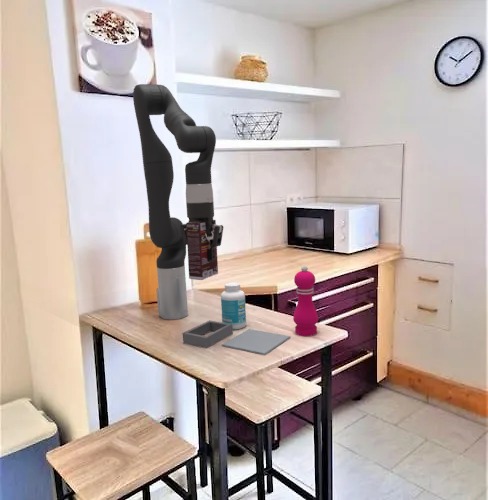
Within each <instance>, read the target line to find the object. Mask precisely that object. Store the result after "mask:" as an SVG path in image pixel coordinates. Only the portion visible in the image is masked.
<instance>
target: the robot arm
mask: <svg viewBox="0 0 488 500" xmlns="http://www.w3.org/2000/svg"><path fill="white" fill-rule="evenodd" d="M132 94H133V95H132V97H133V98H132V99H133V106H134V112H135V116H136V117H135V118H136V122H137V127H138V131H139V132H138V133H139V137H140V147H141V153H142V154H141V155H142V164H143V165H142V166H143V174H144V180H145V185H146V186H145V187H146V195H147V206H148V232H149V238H150V240H151V242H152V244H154V246H156V247H157V248H159V249H161V250H160V253H159V255H158V257H157V258H156V260H155V261H156V262H155V263H156V275H157V286H158V288H157V289H156V300H157V303H156V304H157V312H158V314H157V315H158V317H160V318H161V319H164V320H180V319H182V318H186V317H188V315H189V310H188V309H189V308H188V307H189V306H188V295H187V294H188V292H187V280H186V279H187V278H186V265H185V264H186V263H185V260H186V257H187V256H186V255H187V227H186V223H183V222H182V220H181V219H179V218H177V217H173V216H172V217H171V213H170V197H171V193H172V189H173V188H172V187H173V185H174V180H175V179H174V176H175V175H174V166H173V165H174V164H173V158H172V155H171V152H170V151H169V149H168V148H167V147H166V145H165V143H164V142H163V141H162V140H161V139H160V138H159V135H157V133H156V130H155V129H154V127H153V124H152V121H151V117H150V116H161V115H163V123H164V126H165V127H166V129H167V131H169V133H171V135H173V137H174V139H175V142H176V145H177V148H178V149H179V151H181V152H183V153H186V154H187V153H188V154H193V153H194V154H198V153H199V156H198V158H197V159H196V160H194V161H191V162H188V163H186V164H185V167H184V168H185V169H184V172H185V184H186V185H185V205H186V217H187V218H188V222H193V221H199V222H205V224H206V233H205V241H206V243H207V248H208V249H207V259H208V262H213V261H214V259H215V247H217V248H218V247H220V246H221V245H222V239H223V233H224V225H223V224H220V225H218V224H217V223H216V224H215V223H214V221H213V220H214V218H215V217H214V216H215V204H214V203H215V202H214V190H213V185H212V183H213V182H212V164H213V158H214V153H215V150H216V143H217V138H216V137H217V136H216V133H215V131H214V130H213V128H211V127H210V126H207V125H197V124H196V122H195V120H194V119H193V118H192V117H191V116H190V115H189V114H188V113H186V112H185V111H184V110H183V109H182V107H181V106H180V105H179V102H177V100H176V98H175V97H174V95H173V93H172V92H171V91H170V89H169V88H167V87H166V86H165V85H164V84H150V83H149V84H145V83H144V84H143V83H142V84H137V85H135V86H134V88H133V93H132ZM212 230H213V232H214V235H213V232H212ZM206 234H207V235H210V234H211V237H207V235H206Z"/></svg>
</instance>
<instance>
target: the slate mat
mask: <svg viewBox="0 0 488 500" xmlns="http://www.w3.org/2000/svg"><path fill="white" fill-rule="evenodd" d="M290 339H291V335H285V334H278V333H273V332H269V331H263V330H257V329H251V328H248V329H247V330H245V331H243V332H240V333H239V334H237V335H236V336H234V337H232V338H230V339H229V340H227V341H225V342H223V343H221V347H223V348H224V347H225V348H230V349H233V350H238V351H244V352H247V353H253V354H257V355H263V356H266V355H267V354H269V353H270V352H273V351H274V350H275V349H277V348H278V347H279V346H281V345H282V344H284V343H285V342H287V341H288V340H290Z"/></svg>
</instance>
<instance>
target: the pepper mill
mask: <svg viewBox="0 0 488 500" xmlns="http://www.w3.org/2000/svg"><path fill="white" fill-rule="evenodd" d="M293 281H294V284H295V285H296V287H295V289H296V294H297V296H298V297H297V300H298V301H297V304H296V307H295V309H294V312H293V317H292V318H293V319H292V321H293V322H294V324H296V325H295V326H294V328H295V329H294V332H295V334H296V335H298V336H302V337H311V335H312V336H314V335H316V334H317V333H318V327H317V326H316V324H317V323H318V322H319V315H318V311H317V309H316V307H315V306H314V302H313V294H314V292H315V291H314V287H313V286H314V285H315V284H316V276H315V275H314V273H313V272H312V271H310V270H308V266H307V265H302V266H301V271H298V272H297V273H296V274H295V275H294V280H293Z"/></svg>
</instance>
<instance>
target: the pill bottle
mask: <svg viewBox="0 0 488 500" xmlns="http://www.w3.org/2000/svg"><path fill="white" fill-rule="evenodd" d="M224 289H225V290H223V291H222V293H221V294H220V304H221V307H220V308H221V322H222V323H228V324H232V329H233V330H239V329H240V330H241V329H243V328H245V327H246V325H247V314H246V313H247V311H246V293H245V292H244V291H243V290H241V283H239V282H227V283H225V284H224Z"/></svg>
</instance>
